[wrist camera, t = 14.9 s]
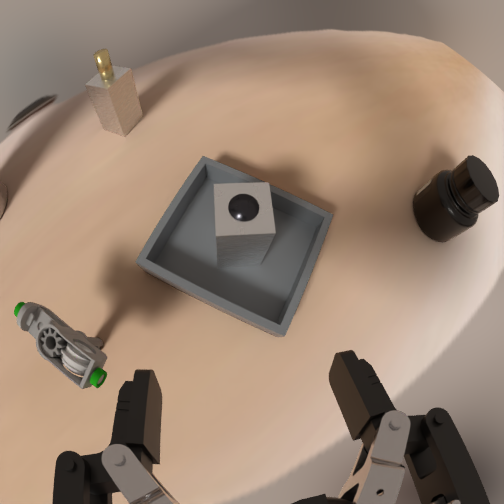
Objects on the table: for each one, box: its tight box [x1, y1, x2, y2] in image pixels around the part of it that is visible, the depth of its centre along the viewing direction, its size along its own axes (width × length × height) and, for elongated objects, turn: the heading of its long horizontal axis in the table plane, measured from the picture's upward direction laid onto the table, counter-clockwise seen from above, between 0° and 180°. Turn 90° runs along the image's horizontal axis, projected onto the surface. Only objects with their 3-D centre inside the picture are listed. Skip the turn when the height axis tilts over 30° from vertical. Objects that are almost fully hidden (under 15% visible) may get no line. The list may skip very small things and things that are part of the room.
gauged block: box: [85, 49, 143, 137], centre depth 29 cm, size 4×4×14 cm
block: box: [214, 182, 276, 269], centre depth 26 cm, size 4×4×10 cm
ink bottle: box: [413, 155, 499, 242], centre depth 30 cm, size 10×9×12 cm
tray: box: [136, 156, 333, 337], centre depth 30 cm, size 16×14×4 cm
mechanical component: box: [14, 302, 107, 389], centre depth 21 cm, size 3×10×10 cm, turn 64°
